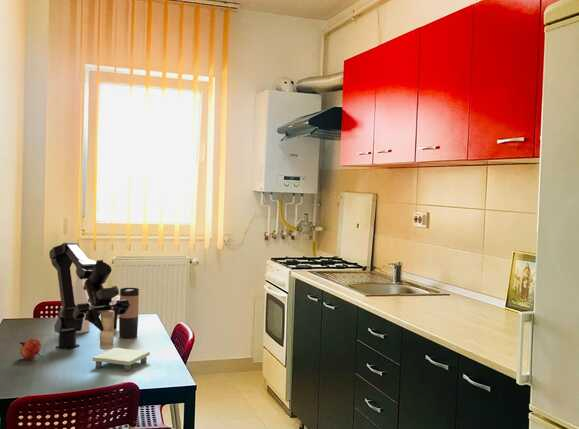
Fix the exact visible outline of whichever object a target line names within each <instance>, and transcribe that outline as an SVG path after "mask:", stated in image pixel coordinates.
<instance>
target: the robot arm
mask: <svg viewBox="0 0 579 429" xmlns="http://www.w3.org/2000/svg"><path fill="white" fill-rule="evenodd" d="M48 256H49V259H50V262H51V265H52V266H53V268H55V269H56V272H57V279H58V280H57V281H58V289H59V296H60V304H61V307H60V310H59V311H58V313H57V314H58V315H57V320H56V322H55V324H54V325H53V326H54V332H55V333H57V334H58V335H59V336H58V345H56V346H55V348H56V349H61V350H62V349H63V350H72V349H75V348H77V347H80V344H78V343H77V334H76V331H81V328H82V323H83V318H84V316H85V315H86V317H85V320H88V321H89V322H90V324H92V325H93V326H95V327H96V328H97V329H98V330H99V332H100V331H103V326H102V323H101V317H100V316H99V313H101V311H105V310H111V311H114V329H116V328H117V329H118V327H117V326H118V319H117V315H122V314H125V313H126V311H127V310H128V308H129V306H130V303H129V301H128V300H117V302H116V304H115V305H109V304H112V302H111V301H112V299H111V298H113V297H116V296H119V295H120V290H119V287H118V286H117V285H114V286H111V287H105V288H104V285H103V284H105V283H106V282H107V279H108V278H109V276H110V275H111V272H112V269H113V268H112V266H110V264H108V263H106V262H104V260H103V259H97V260H94V259H90V258H88V257H87V256H86V254H85V253H84V252H83V251H82V250H81V249H80V247H79V244H78V242H74V241H67V242H63V243H62V244H59V245H56V246H53V247H52V248H51V250H49V255H48ZM72 264H73V265H74V266H76V267H77V269H76V267H75V270H76V273H77V276H78V277H79V278H80V279H84V288H83V289H84V290H86V291H87V294H88V297H89V299H88V302H90V305H89V304H88V303H83V304H77V306H76V305H75V302H74V294H73V281H72V280H73V278H72V272H71V267H72ZM84 313H85V315H84Z"/></svg>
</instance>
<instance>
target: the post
mask: <svg viewBox="0 0 579 429" xmlns="http://www.w3.org/2000/svg"><path fill="white" fill-rule="evenodd" d="M100 320H101V323H102V326H103V331H100V330H99V332H100V334H99V335H100V336H99V349H100V350H103V351H104V350H106V351H108V350H111V349H113V348H114V344H115V343H114V339H115V338H114V336H115V335H114V334H115V331H114V311H111V310H105V311H101V312H100Z"/></svg>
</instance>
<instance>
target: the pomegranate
mask: <svg viewBox="0 0 579 429" xmlns="http://www.w3.org/2000/svg"><path fill="white" fill-rule="evenodd" d="M19 344H20V345H21V346H20V348H19V353H20V355H21V357H23V359H25V360H27V361H32V360H34V359H35V358H36V355H38V356H39V357H41V358H44V357H43V355H41V354H39V353H40V351H41V349H42V348H41V345H42V344H41V342H40V340H38V339H36V338H29V339H26V340H25V341H24V342H22V341H20V342H19Z"/></svg>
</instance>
